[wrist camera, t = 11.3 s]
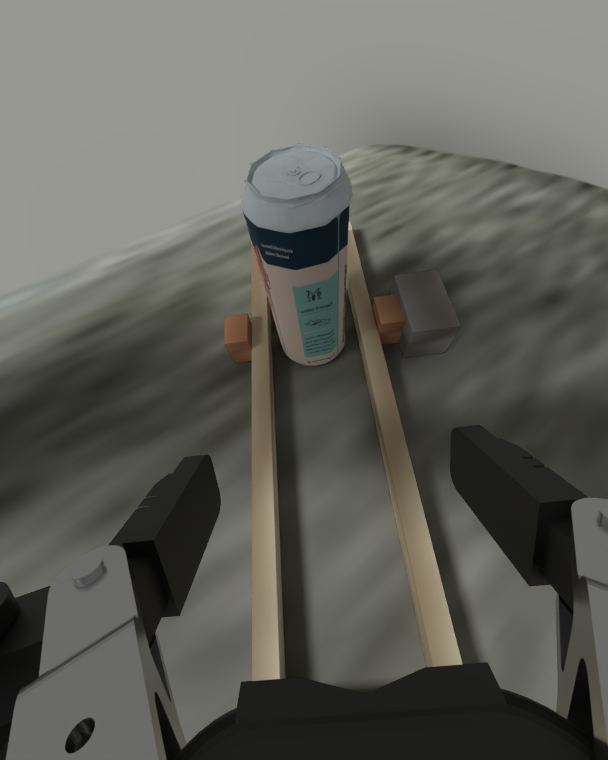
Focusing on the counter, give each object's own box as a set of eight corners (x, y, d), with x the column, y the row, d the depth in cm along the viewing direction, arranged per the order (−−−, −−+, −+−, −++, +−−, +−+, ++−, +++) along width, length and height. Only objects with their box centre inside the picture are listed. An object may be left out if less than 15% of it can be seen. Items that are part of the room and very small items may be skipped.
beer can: (310, 307, 24) (289, 128, 13) (358, 337, 22) (378, 157, 12) (269, 347, 23) (210, 181, 12) (317, 381, 21) (297, 222, 10)
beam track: (223, 757, 13) (194, 815, 10) (238, 251, 28) (228, 222, 25) (587, 733, 12) (657, 788, 9) (399, 229, 27) (406, 196, 25)
